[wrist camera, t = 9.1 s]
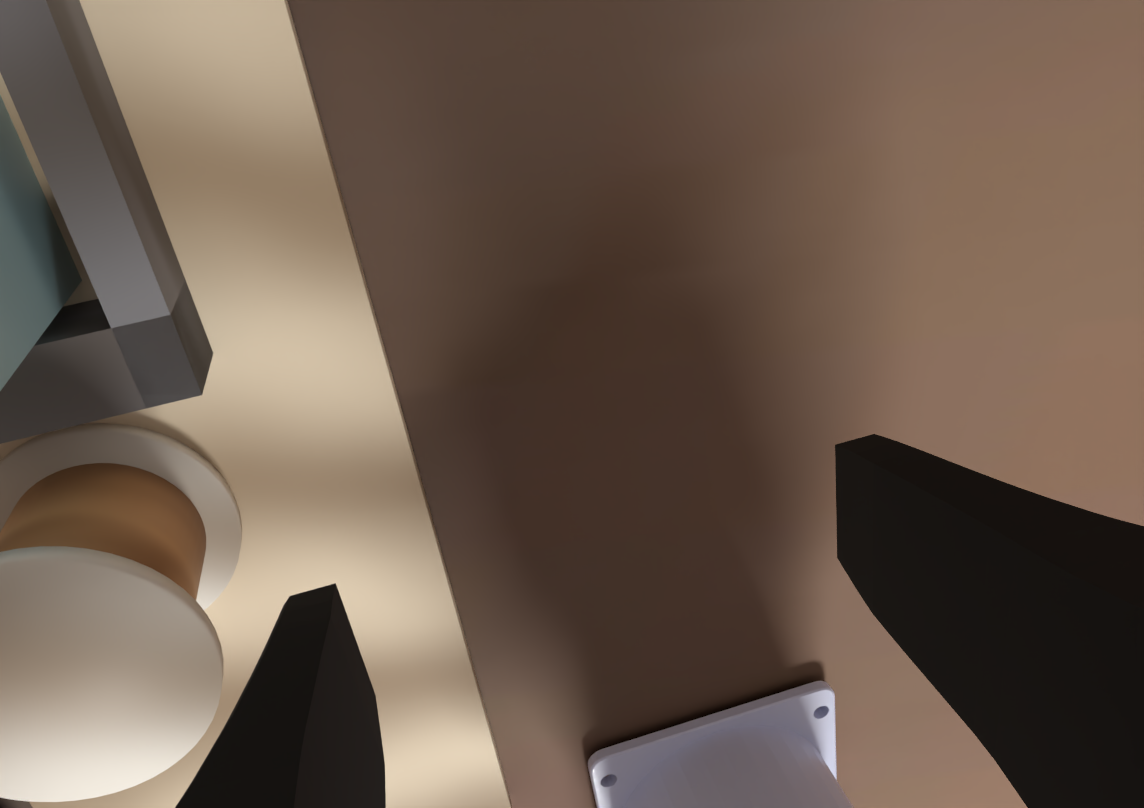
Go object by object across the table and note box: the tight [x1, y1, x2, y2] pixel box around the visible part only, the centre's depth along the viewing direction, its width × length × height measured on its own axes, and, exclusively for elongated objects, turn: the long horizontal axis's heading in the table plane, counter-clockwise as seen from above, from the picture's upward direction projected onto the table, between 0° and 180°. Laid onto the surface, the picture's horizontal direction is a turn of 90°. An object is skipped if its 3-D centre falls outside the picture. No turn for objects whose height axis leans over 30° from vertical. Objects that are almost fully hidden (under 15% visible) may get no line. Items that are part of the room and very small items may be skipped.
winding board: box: [0, 0, 512, 808], centre depth 18 cm, size 26×11×6 cm, turn 9°
